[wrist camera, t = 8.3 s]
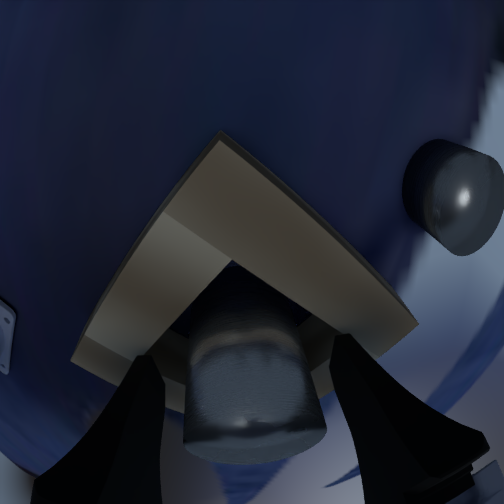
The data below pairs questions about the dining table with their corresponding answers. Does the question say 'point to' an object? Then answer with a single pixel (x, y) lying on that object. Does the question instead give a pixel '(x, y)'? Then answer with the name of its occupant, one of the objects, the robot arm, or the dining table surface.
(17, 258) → the dining table surface
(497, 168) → the short metal stub
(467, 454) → the robot arm
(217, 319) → the tall metal pin
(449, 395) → the dining table surface
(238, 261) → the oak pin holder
